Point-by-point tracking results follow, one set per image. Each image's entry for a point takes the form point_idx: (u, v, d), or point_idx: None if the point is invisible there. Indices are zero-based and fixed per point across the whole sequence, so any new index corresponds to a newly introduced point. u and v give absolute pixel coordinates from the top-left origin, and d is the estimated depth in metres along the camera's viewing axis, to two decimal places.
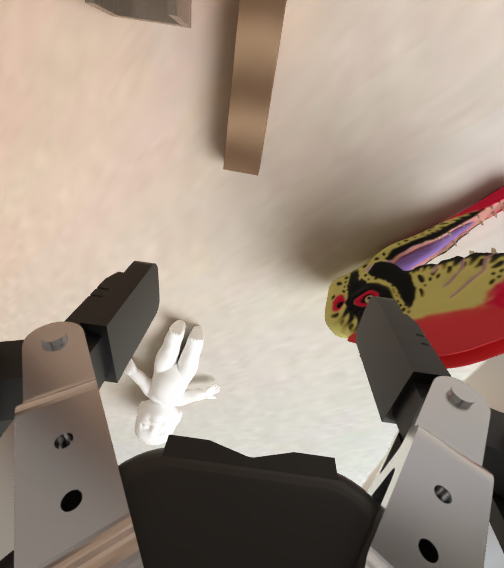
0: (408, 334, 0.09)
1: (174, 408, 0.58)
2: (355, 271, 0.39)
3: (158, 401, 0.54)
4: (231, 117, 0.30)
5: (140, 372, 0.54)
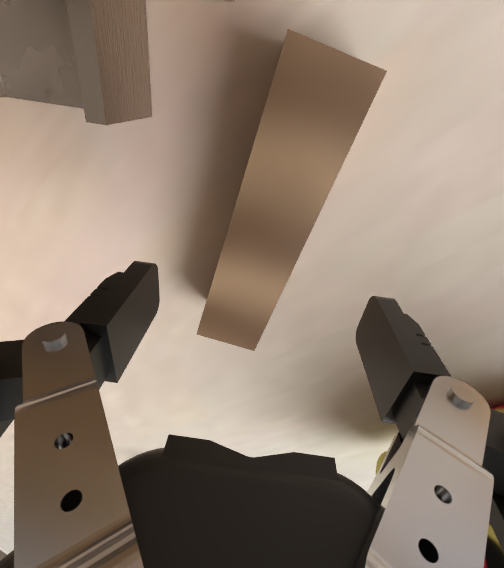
0: (408, 334, 0.09)
1: None
2: None
3: None
4: (221, 271, 0.16)
5: None
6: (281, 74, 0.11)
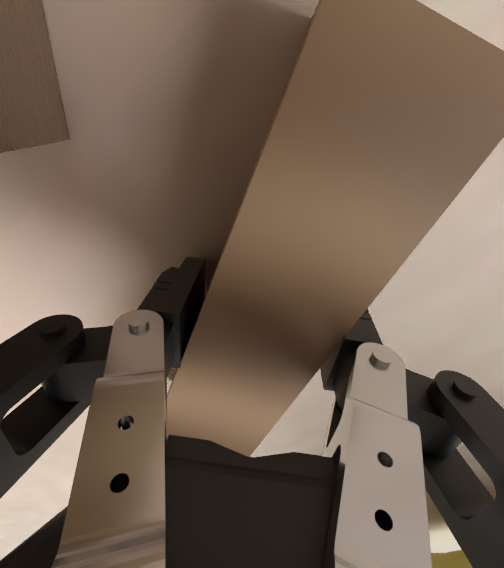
0: None
1: None
2: None
3: None
4: (181, 388, 0.10)
5: None
6: (313, 66, 0.05)
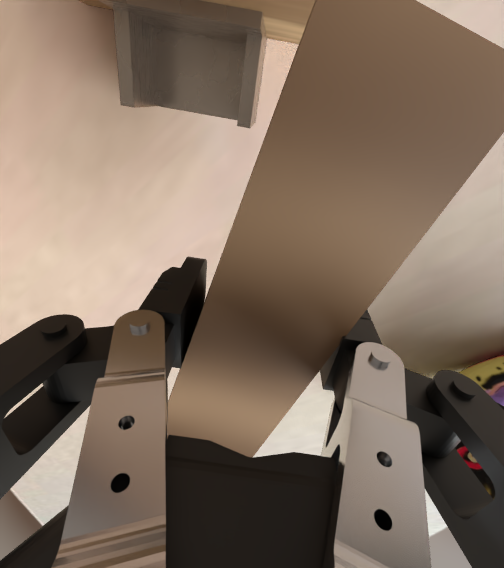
0: None
1: None
2: None
3: None
4: (183, 389, 0.10)
5: None
6: (309, 66, 0.05)
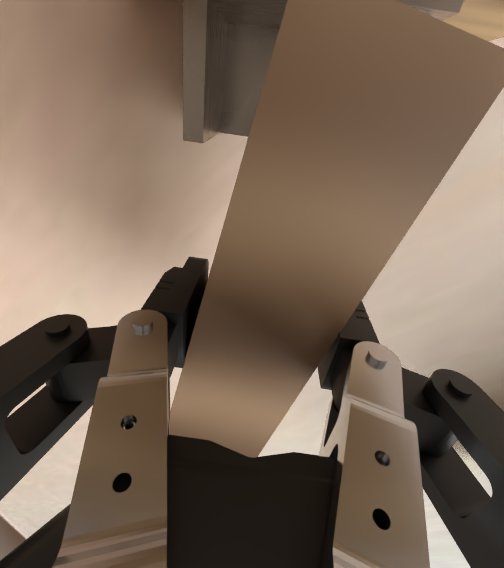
0: None
1: None
2: None
3: None
4: (186, 388, 0.10)
5: None
6: (285, 65, 0.05)
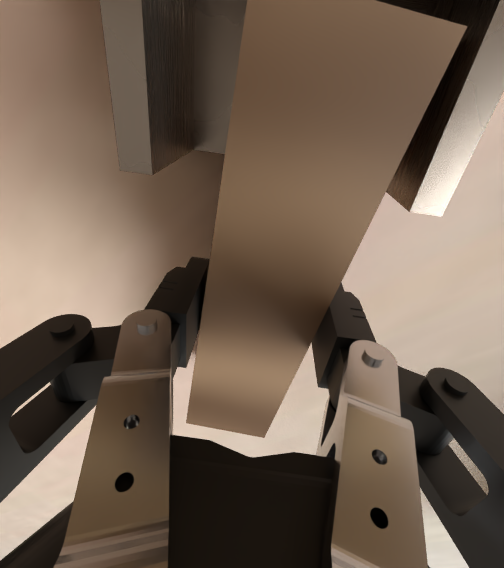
0: (342, 307, 0.09)
1: None
2: None
3: None
4: (203, 358, 0.11)
5: None
6: (252, 62, 0.06)
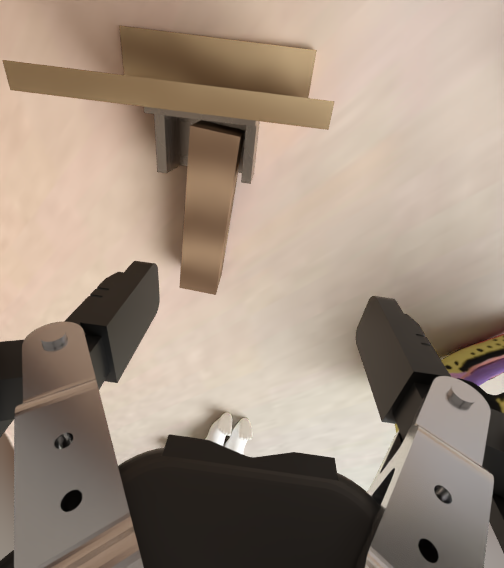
0: (408, 334, 0.09)
1: None
2: None
3: None
4: (185, 246, 0.29)
5: None
6: (192, 144, 0.24)
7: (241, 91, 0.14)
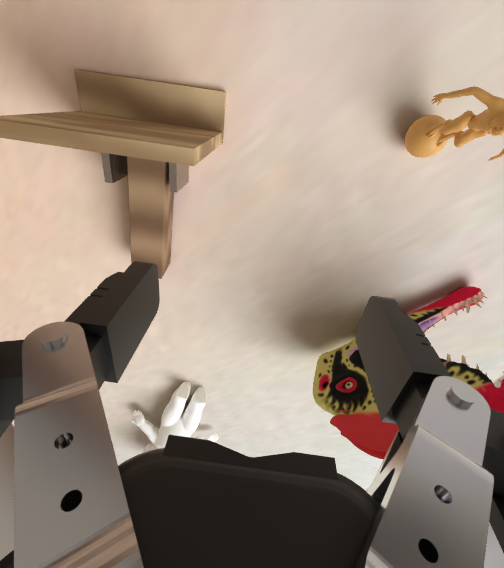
0: (408, 334, 0.09)
1: None
2: (339, 351, 0.45)
3: None
4: (133, 239, 0.37)
5: (148, 423, 0.61)
6: (130, 162, 0.31)
7: (134, 141, 0.22)
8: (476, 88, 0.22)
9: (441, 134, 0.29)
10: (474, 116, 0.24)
